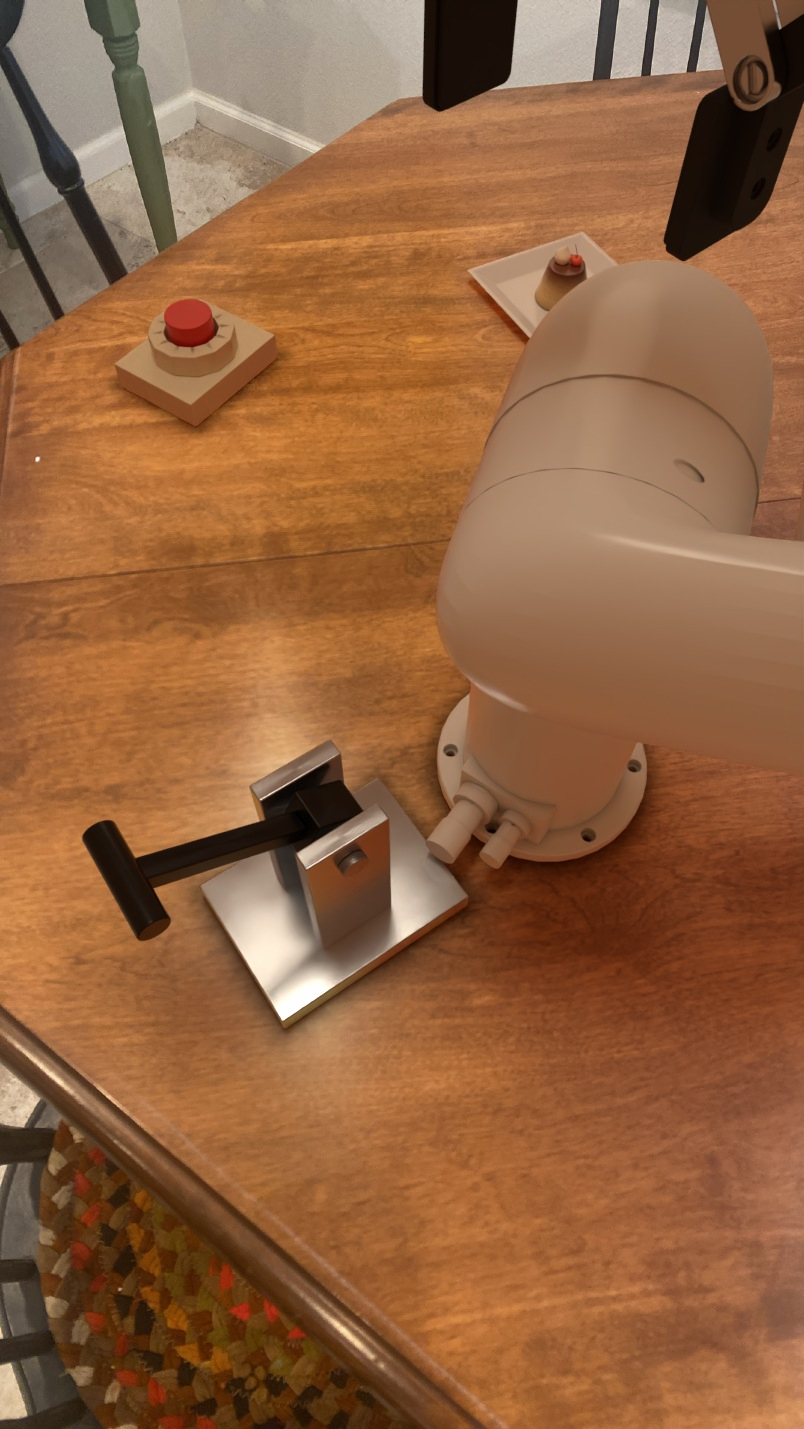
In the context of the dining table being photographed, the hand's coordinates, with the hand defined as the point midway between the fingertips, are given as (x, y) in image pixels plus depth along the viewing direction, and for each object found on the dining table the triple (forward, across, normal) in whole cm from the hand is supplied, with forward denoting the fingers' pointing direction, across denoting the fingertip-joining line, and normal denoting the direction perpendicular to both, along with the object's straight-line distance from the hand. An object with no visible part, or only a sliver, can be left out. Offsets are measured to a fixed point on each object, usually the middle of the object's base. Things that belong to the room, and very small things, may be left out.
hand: (579, 161), depth 28 cm
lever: (+24, +1, -18) cm, 29 cm away
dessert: (+36, -28, +35) cm, 58 cm away
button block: (+36, -40, +6) cm, 55 cm away
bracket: (+36, +2, -13) cm, 38 cm away
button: (+32, -40, +6) cm, 52 cm away
